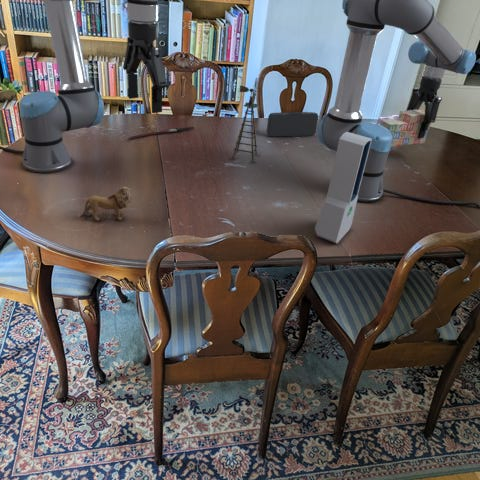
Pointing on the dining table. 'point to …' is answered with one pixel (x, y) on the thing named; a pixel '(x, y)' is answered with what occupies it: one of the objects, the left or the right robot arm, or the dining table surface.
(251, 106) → the miniature windmill
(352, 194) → the electronic device
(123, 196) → the lion figurine
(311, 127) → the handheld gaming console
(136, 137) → the sword
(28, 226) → the dining table surface
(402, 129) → the stack of blocks
